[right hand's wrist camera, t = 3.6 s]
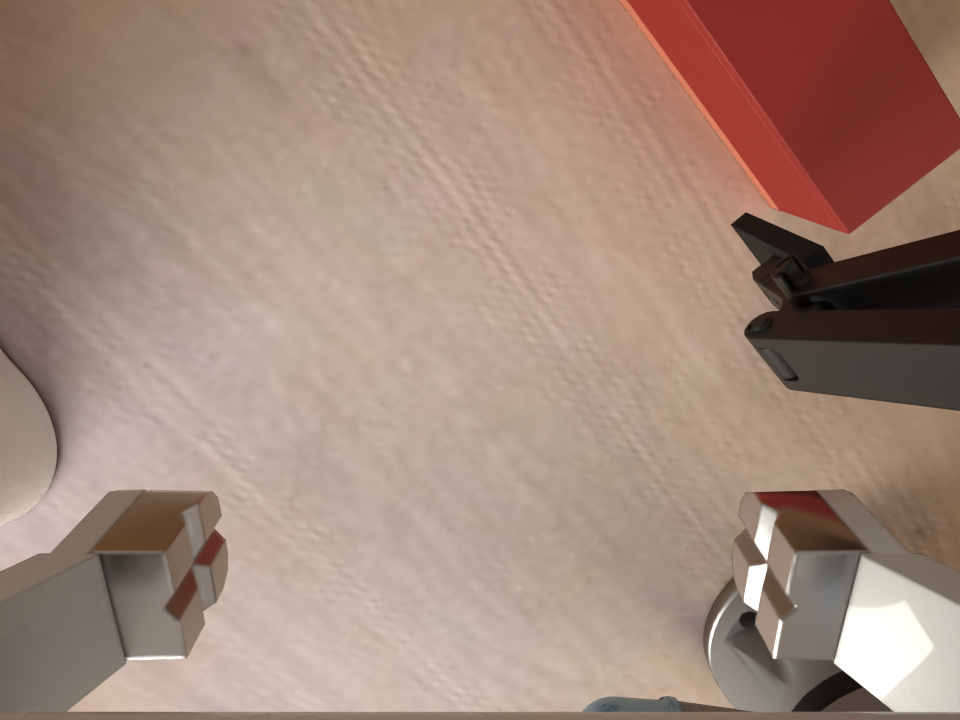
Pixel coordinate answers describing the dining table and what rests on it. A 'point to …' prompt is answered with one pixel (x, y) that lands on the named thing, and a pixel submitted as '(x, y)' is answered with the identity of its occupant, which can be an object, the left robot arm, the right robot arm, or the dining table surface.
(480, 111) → the dining table surface
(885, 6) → the red drawer housing
